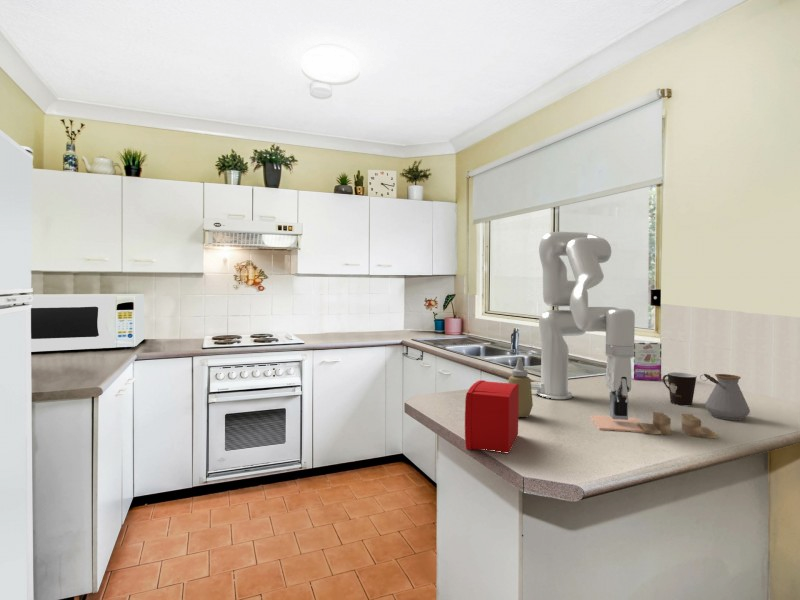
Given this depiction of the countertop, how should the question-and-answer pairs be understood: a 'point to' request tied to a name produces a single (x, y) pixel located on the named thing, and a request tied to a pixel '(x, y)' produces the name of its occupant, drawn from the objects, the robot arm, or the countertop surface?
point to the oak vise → (688, 425)
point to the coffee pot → (726, 398)
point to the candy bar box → (646, 361)
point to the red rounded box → (491, 416)
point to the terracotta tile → (616, 423)
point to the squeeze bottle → (522, 388)
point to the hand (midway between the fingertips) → (618, 412)
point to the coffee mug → (681, 387)
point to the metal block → (612, 407)
